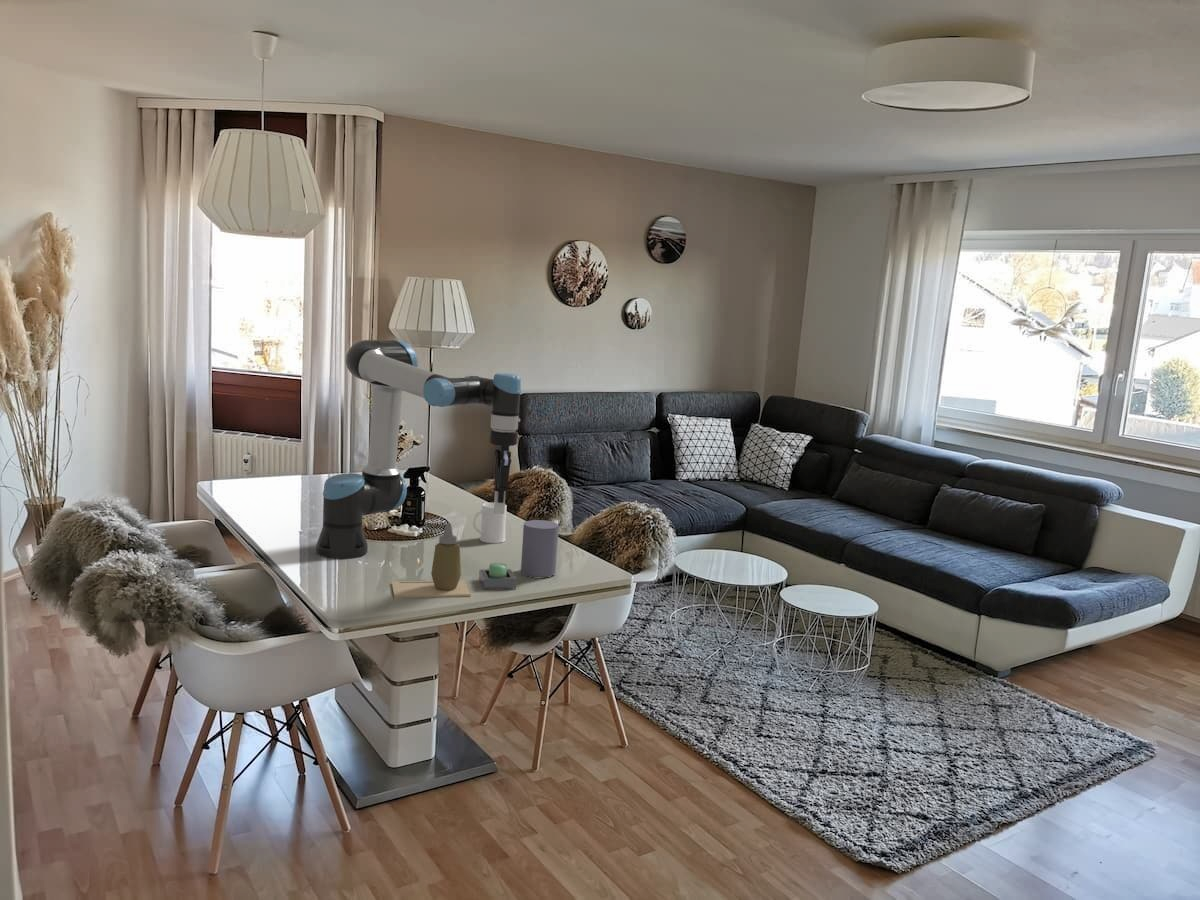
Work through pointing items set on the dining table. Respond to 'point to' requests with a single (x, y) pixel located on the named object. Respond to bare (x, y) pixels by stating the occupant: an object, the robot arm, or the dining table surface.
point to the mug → (491, 524)
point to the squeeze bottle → (446, 561)
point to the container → (539, 548)
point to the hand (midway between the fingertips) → (498, 513)
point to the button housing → (497, 580)
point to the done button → (497, 570)
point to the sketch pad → (427, 589)
